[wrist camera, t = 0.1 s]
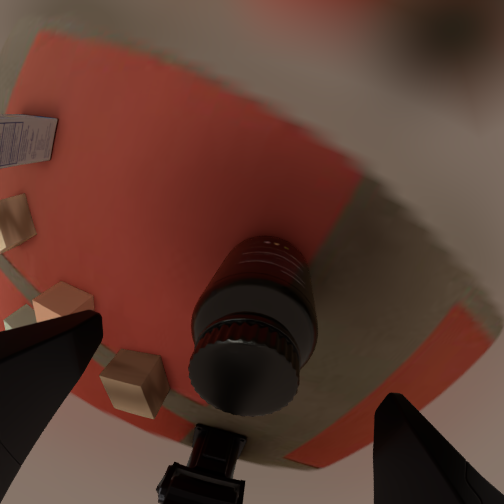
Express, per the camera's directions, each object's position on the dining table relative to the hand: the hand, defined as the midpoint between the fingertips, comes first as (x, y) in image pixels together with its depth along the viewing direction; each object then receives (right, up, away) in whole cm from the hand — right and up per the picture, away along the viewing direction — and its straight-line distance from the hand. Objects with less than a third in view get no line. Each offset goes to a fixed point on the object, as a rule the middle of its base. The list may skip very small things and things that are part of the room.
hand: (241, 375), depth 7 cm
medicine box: (-23, +16, +14) cm, 31 cm away
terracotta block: (-19, -3, +19) cm, 27 cm away
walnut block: (-11, -10, +21) cm, 25 cm away
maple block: (-27, +7, +17) cm, 33 cm away
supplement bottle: (+2, +2, +15) cm, 15 cm away
